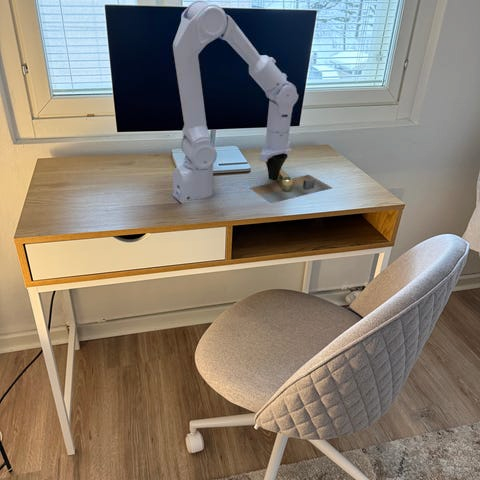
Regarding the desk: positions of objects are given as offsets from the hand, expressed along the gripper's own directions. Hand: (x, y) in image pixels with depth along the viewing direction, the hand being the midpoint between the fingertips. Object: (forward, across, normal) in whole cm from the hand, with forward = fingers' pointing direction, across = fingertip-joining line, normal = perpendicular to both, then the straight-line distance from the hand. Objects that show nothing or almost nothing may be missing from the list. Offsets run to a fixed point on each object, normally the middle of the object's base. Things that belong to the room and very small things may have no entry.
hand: (272, 179), depth 123 cm
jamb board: (+2, 0, -6) cm, 6 cm away
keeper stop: (+1, +3, -9) cm, 10 cm away
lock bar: (+1, 0, -3) cm, 3 cm away
